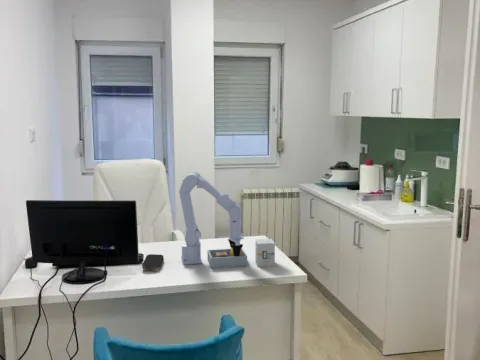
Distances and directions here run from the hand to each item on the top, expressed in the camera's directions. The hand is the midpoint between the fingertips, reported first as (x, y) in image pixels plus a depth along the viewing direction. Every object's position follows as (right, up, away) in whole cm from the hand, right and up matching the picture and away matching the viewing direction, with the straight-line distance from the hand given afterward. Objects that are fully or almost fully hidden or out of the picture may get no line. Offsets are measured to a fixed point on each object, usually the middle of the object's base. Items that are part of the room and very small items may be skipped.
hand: (235, 255), depth 239 cm
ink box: (+14, -4, -1) cm, 15 cm away
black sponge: (-40, -5, -3) cm, 40 cm away
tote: (-4, -4, +1) cm, 6 cm away
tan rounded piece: (0, -3, 0) cm, 3 cm away
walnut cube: (-7, -4, -2) cm, 8 cm away
